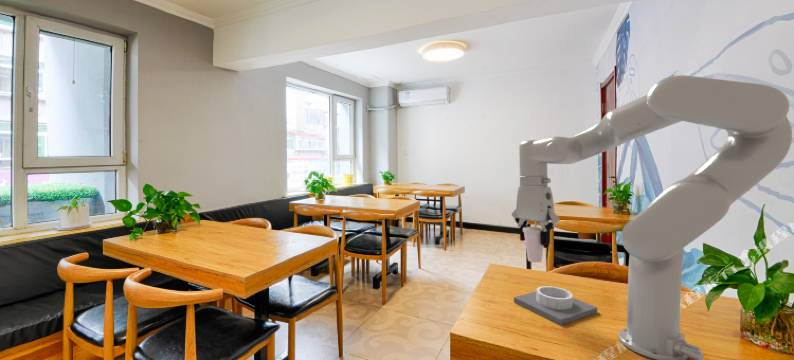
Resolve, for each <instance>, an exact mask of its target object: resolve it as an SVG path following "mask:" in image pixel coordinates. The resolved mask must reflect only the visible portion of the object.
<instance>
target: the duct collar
mask: <svg viewBox="0 0 794 360" xmlns="http://www.w3.org/2000/svg"><path fill="white" fill-rule="evenodd" d="M513 303H515V304H518V305H519V306H521V307H523V308H526V309H527V310H529V311H531V312H533V313H535V314H537V315H539V316H541V317H543V318H545V319H547V320H550V321H551V322H554V323H555V324H557V325H560V326H563V325H566V324H569V323H572V322H574V321H578V320H579V319H580V320H581V319H582V318H586V317H589V316H591V315H594V314H597V313H598V307H597V306H595V305H592V304H590V303H588V302H585V301H582V300H580V299H577V298H576V297H575V298H574V295H573V293H572V292H571V291H569V290H567V289H565V288H563V287H556V286H552V285H550V286H549V285H548V286H547V285H544V286H543V285H542V286H538V287H537V288H536V290H535V291H532V292H529V293H525V294H521V295H518V296H515V297H513Z"/></svg>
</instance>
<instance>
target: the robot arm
mask: <svg viewBox="0 0 794 360" xmlns="http://www.w3.org/2000/svg"><path fill="white" fill-rule="evenodd" d="M789 111H790V101H789V99H788V97H787V95H786V94H785V93H784V92H782V90H779V89H778V88H776V87H774V86H770V85H766V84H761V83H753V82H746V81H736V80H735V81H734V80H729V79H728V80H727V79H719V78H711V77H710V78H708V77H701V76H694V75H684V74H683V75H681V74H680V75H679V74H678V75H672V76H668V77H665V78H663V79H661V80H659V81H658V82H656V83H655V84H654V85H653V86H652V87H651V88H650V89H649V91H648V93H647V94H645V95H642V96H641V97H639V98H636V99H634V100H632V101H630V102H627V103H626V104H623V105H621V106H619V107H616V108H614V109H612V110H610V111H608V112H607V113H606V114H605V115H604V116H603V117H602V119H601V120H600V121H599V122H598V123H597V124H595V125H593V126H592V127H590V128H588V129H587V130H584V131H582V132H580V133H577V134H575V135H572V136H571V137H566V136H552V137H548V138H544V139H529V140H524V141H522V142H521V143H520V144H519V148H518V150H519V151H518V154H519V156H518V157H519V186H518V189H517V196H516V206H515V207H516V209H514V210H513V211H512V212H511V217H512V218H513V219H514V221H515V223H516V224H517V227H518V228H519V240H520V241H522V242H523V241H524V242H525V236H524V232H523V228H524V227H528V223H529V221H533V222H534V221H536V222H539V226H540V227H541V228H542V230H543V231H541V232H540V238H541V245H543V246H547V245H550V243H551V231H552V230H553V229H554V228H555V226H557V224H559V222H560V220H561V219H560V217H559V216H558V215H557V213H556V212H555V205H554V203H555V202H554V198H553V192H552V188H551V187H550V186H549V184H550V183H551V181H552V180H551V178H549V176H548V164H552V165H571V164H576V163H578V162H580V161H583V160H586V159H589V158H591V157H595V156H598V155H600V154H602V153H604V152H606V151H609V150H611V149H614V148H617V147H620V146H621V145H623V144H625V143H628V142H630V141H632V140H636V139H639V138H640V137H643V136H645V135H648V134H651V133H653V132H656V131H659V130H661V129H665V128H667V127H670V126H672V125H675V124H678V123H681V122H686V123H687V122H688V123H691V124H696V125H701V126H706V127H712V128H716V129H721V130H725V132H726V133H727V138H726V141H725V142H724V144H723V145H722V146H721V147H720V148H718V150H717V151H715V152H714V153H713V154H712V155H711V156H709V157H708V159H707V160H705V162H703V163H702V164H701V165H700V166H699V167H698V168H696V169H695V170H694V171H693V172H691V173H690V174H688V175H687V176H686V177H685V178H682V179H680V180H678V181H675V182H673V183H672V184H670V185H669V186H668V187H667V188H666V189H664V190H663V191H662V192H661V193H660V194H659V195H657V196H656V197H655V198H654V199H653V200H651V202H650V203H648V204H647V205H646V206H645V207H644V208H642V210H641V211H639V212H638V213H637V214H636V215H635V216H633V217H632V218H631V219H630V220H629V221H628V222H627V223H626V224H625V225H624V227H623V228H622V230H621V236H620V237H621V243H622V245H623V248H624V249H625V250H626V251H627V253H628V254H629V257H628V258H629V259H628V277H627V305H626V306H627V308H626V310H627V311H626V328H622V329H621V330H619V332H618V340H619V341H620V343H621V344H622V345H624V346H625V347H627V348H628V349H629V350H631V351H632V352H636V353H638V354H639V355H641V356H644V357H647V358H650V359H653V360H688V358H690V359H692V360H704V357H705V356H704V352H702V348H701V347H699V346H696V345H694V344H692V343H691V344H690V343H688V341H686V334H684V333H682V332H680V327H681V325H680V324H681V304H682V303H681V302H682V301H681V299H682V298H681V297H682V285H683V284H682V282H683V280H682V279H683V261H684V251H685V248H686V247H687V246H688V245H689V244H691V243H692V242H694V241H695V240H696V239H699V237H700V236H702V235H703V234H705V233H706V232H707V231H708V230H711V228H712V227H714V226H715V225H716V224H718V223H719V222H720V221H721V220H722V219H723V218H725V216H726V215H727V213H728V212H729V210H730V206H731V205H733V204H734V203H735V202H736V201H737V200H739V199H740V198H741V197H742V196H744V195H745V194H746V193H748V192H749V191H750V190H751V189H753V188H754V187H755V186H756V185H757V184H759V183H760V182H761V181H762V180H763V179H765V178H766V177H767V176H769V174H770V173H772V172H773V171H774V170H775V169H776V168H777V167H778V166H779V165H780V164H781V163H782V162H783V160H784V159H785V158H786V156H787V154H788V153H789V151H790V148H791V145H792V140H793V128H792V125H791V123H790V120H789V118H788V116H787V115H788V113H789Z"/></svg>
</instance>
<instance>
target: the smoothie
mask: <svg viewBox="0 0 794 360" xmlns="http://www.w3.org/2000/svg"><path fill="white" fill-rule="evenodd" d="M533 222H534V226H527V227H524V228H523V232H524V236H525V240H524V242H525V249H526V250H525V251H526V255H527V260H528V262H531V263H542V260H543V254H544V253H543V251H544V245H541V238H540V232H541V231H543V230H542V228H541V226H540V227H539V226H537V223H538V222H537V221H533Z"/></svg>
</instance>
